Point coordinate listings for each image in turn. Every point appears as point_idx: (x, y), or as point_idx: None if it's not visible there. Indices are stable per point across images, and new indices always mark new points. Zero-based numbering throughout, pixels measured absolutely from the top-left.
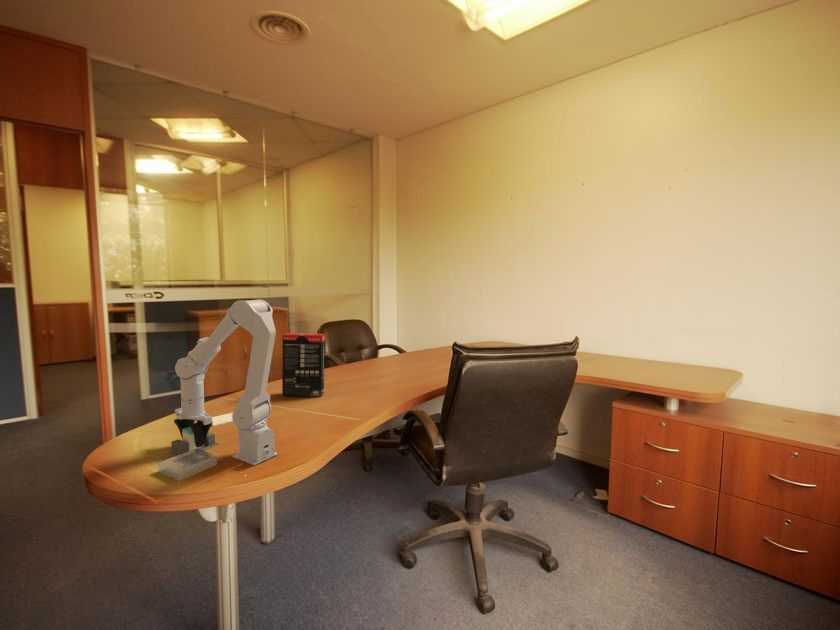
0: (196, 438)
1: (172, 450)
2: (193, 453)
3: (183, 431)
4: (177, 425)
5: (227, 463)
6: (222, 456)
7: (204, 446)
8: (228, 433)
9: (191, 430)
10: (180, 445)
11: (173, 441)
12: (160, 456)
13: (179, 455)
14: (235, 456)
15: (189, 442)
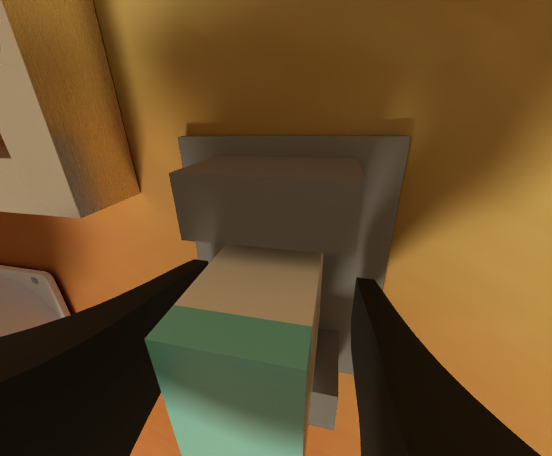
0: (124, 293)
1: (343, 159)
2: (15, 150)
3: (279, 336)
4: (491, 446)
5: (10, 228)
6: (93, 266)
7: None
8: (325, 440)
9: (154, 364)
10: (188, 172)
11: (347, 194)
12: (395, 68)
13: (6, 45)
14: (29, 278)
15: (218, 257)
